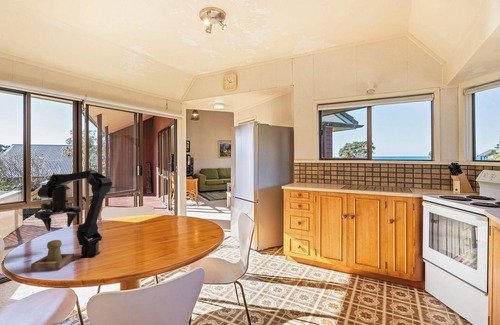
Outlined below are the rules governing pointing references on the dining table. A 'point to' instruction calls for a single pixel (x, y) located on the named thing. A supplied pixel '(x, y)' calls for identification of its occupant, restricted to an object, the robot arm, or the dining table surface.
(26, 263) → the dining table surface
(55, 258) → the cork
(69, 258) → the socket block
